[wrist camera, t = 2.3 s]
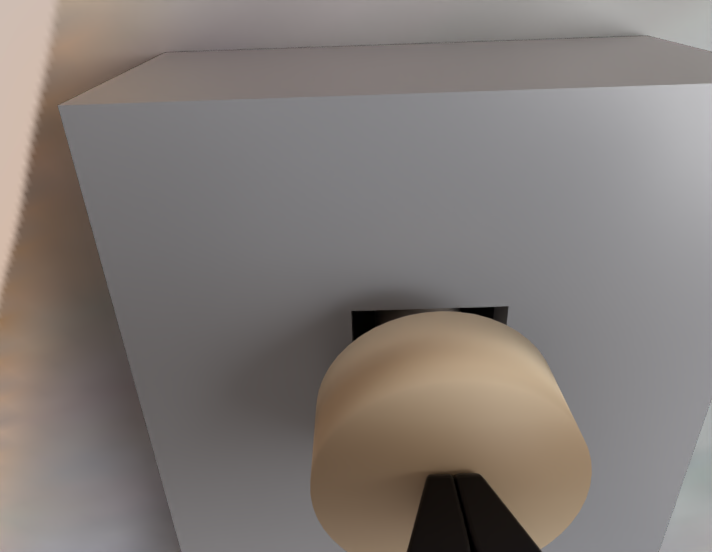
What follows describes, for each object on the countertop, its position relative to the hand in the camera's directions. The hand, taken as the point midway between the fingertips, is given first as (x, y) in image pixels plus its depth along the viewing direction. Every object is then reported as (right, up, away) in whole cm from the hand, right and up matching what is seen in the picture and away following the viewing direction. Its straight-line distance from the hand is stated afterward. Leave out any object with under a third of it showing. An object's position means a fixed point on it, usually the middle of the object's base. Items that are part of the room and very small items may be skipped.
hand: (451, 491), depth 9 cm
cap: (0, +3, +6) cm, 7 cm away
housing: (0, 0, +11) cm, 11 cm away
